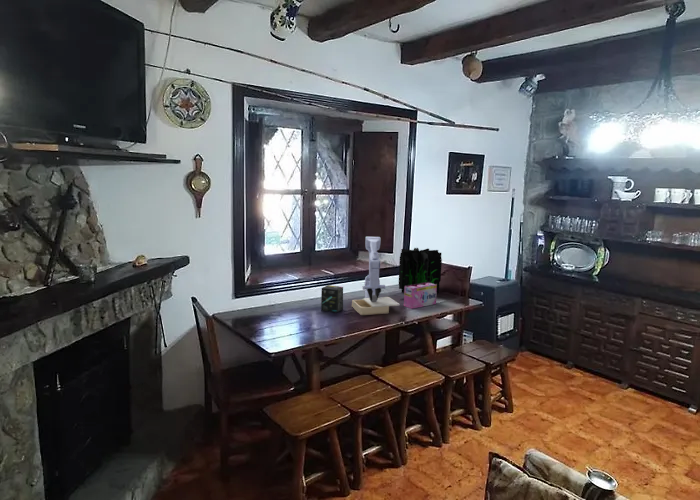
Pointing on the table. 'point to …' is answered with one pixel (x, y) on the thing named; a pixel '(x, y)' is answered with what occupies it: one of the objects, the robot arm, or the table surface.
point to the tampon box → (332, 298)
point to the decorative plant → (419, 267)
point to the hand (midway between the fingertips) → (373, 300)
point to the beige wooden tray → (368, 308)
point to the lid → (381, 301)
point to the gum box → (420, 295)
